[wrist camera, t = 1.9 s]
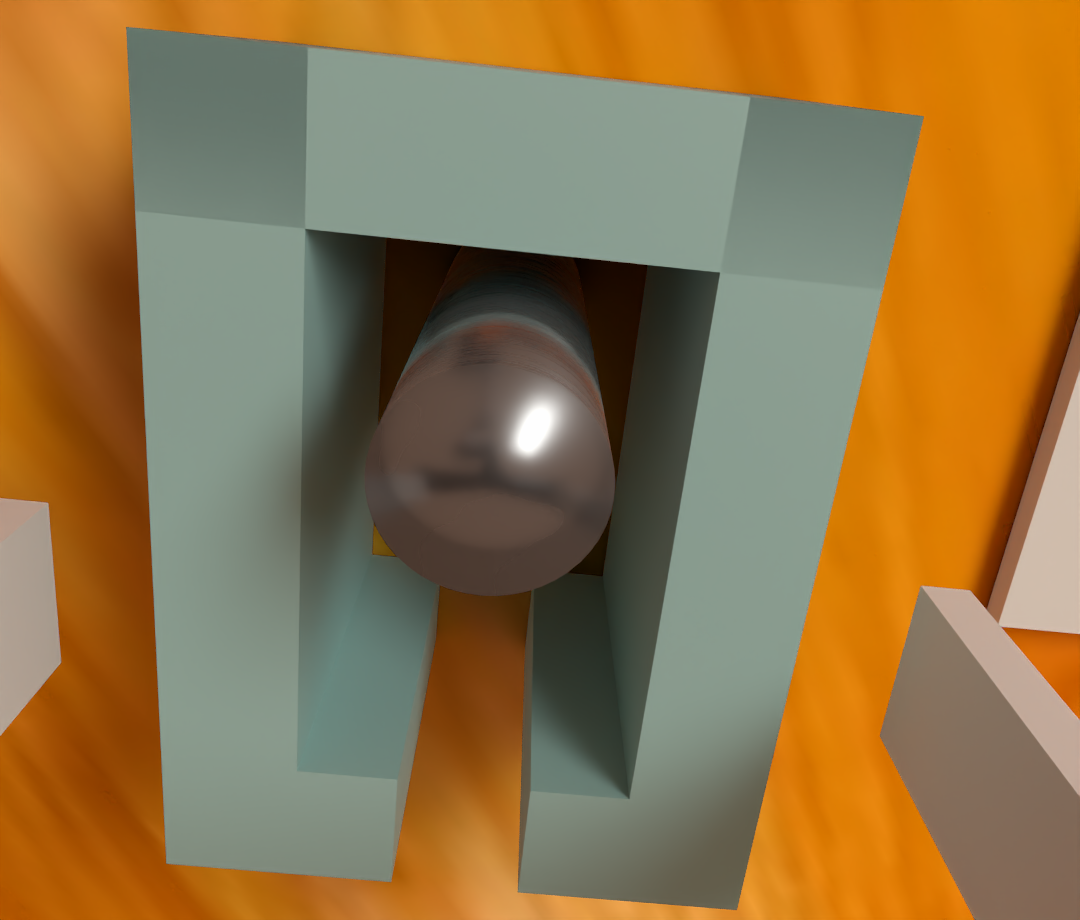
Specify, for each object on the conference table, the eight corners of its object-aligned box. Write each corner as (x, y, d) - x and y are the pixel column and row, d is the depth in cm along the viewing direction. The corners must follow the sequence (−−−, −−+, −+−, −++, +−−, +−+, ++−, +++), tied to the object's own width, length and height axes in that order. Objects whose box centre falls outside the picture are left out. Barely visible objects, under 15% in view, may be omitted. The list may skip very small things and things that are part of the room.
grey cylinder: (451, 215, 18) (369, 353, 10) (589, 230, 19) (631, 379, 10) (442, 349, 19) (359, 584, 11) (573, 362, 20) (598, 606, 11)
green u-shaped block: (281, 41, 17) (125, 26, 11) (783, 97, 18) (923, 116, 11) (278, 626, 22) (166, 863, 15) (679, 662, 22) (736, 910, 16)
